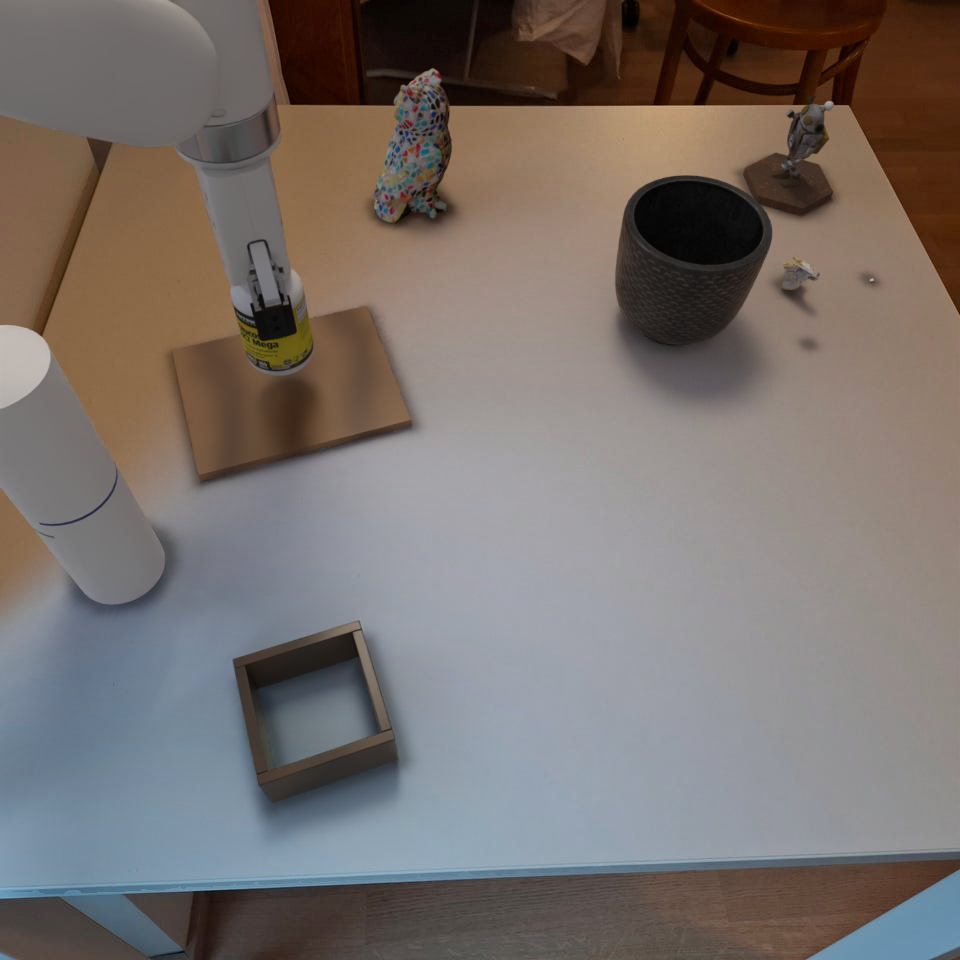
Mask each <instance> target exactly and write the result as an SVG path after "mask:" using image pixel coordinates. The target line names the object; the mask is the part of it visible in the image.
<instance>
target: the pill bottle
mask: <svg viewBox="0 0 960 960" xmlns="http://www.w3.org/2000/svg"><path fill="white" fill-rule="evenodd" d="M288 260H289V271H288V273H287V274H286V275H285V276H284V275H283V273H282V277H283V281H284V285H285V289H286V293H287V295H289V297H290V300H291V305H292V309H293V314H294V319H295V323H296V328H297V332H296V334H294V335H289V336H285V337H281V338H276V339H272V340H268V341H261V340H260V339H259V336H258V332H257V328H256V325H255V321H254V317H253V314H252V310H251V306H250V303H253V301H252V297H251V294H250V290H249V286H248V283H247V281H246V284H244V285H238V286H236V287H235V286H233V285H231V284H230V289H229V296H230V301H231V305H232V308H233V311H234V316H235V318H236V323H237V326H238V330H239V335H240V334H241V337H242V341H243V344H244V348H245V352H246V355H247V357H248V360H249V362H250V363H251V365H252V366H253V367H254V368H255V369H257V370H258V371H260V372H262V373H265V374H268V375H274V376H283V375H289V374H292V373H295V372H297V371H299V370H300V369H302V368H303V367H304V366H305V365H306V364H307V363H308V362H309V361H310V359H311V357H312V355H313V352H314V343H313V337H312V331H311V326H310V321H309V319H310V316H309V312H308V305H307V300H306V295H305V289H304V284H303V281H302V279H301V277H300V275H299V274H298V273H297V271H296V270H295V269H293V268H292V267H291V262H290V258H289V257H288ZM270 263H271V266H273V265H274V263H273V260H270ZM254 269H255V267H254V264H251V266H250V270H254ZM274 278H275V277H274ZM275 281H276V279H275ZM254 283H255V287H256V290H257V294H258V295H259V294H261V289H260V285H259V282H258V281H254ZM276 285H277V283H276ZM277 289H278V287H277ZM258 298H259V297H258Z"/></svg>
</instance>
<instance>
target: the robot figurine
mask: <svg viewBox="0 0 960 960" xmlns="http://www.w3.org/2000/svg"><path fill="white" fill-rule="evenodd" d="M816 97H817V96H816V95H808V96H805V100H807V103H808V104H806V105H805V106H804V107H802V108H801V110H800V111H798V112H795V111H794V110H793V109H792V108H790V109H789V110H788V111H787V112H786V113H785V116H786V117H787V118H788V119H792V120H791V122H790V126H789V130H788V132H787V133H788V134H787V139H786V145H787V148H788V155H786V154H783V153H779V152H773V153H771V154H770V155H767V156H766V157H763V158H762V159H760V160H757V161H755V162H753V163H751V164H749V165H747V166H745V167H744V170H743V174H742V175H743V177H744V179H745V181H746V184H747V186H748V188H749V191H750V193H751V196H752V197H753V198H754V199H755V200H756V201H757V202H758V203H759V204H760V205H764V206H767V207H770V208H771V207H772V208H774V209H777V210H781V211H785V212H788V213H790V214H791V213H792V214H795V215H798V216H802V215H803V214H804V213H805V214H806V213H807V212H809V211H810V210H813V209H814V208H816V207H818V206H820V205H822V204H823V203H826V202H827V201H829V200H831V198H832V196H833V194H834V191H833V188H832V186H831V185H830V182H829V181H828V179H827V177H826V175H825V173H824V171H823V169H822V167H821V165H820V164H819V163H815V162H812V161H808V160H805V159H808V158H810V157H811V155H817V154H819V152H820V151H821V150H822V149H823V147H824V146H826V144H827V143H828V142H829V140H830V137H829V134H828V131H827V128H826V126H825V112H826V111H827V112H830V111H832V110H833V109H834V105H835V104H834V102H833V101H832V100H828V101H826V102H825V103H824V104H823V106H821V105H820V104H818V103H814V101H815V99H816Z"/></svg>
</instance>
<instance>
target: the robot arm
mask: <svg viewBox="0 0 960 960" xmlns="http://www.w3.org/2000/svg"><path fill="white" fill-rule="evenodd" d="M277 105H278V104H277V100H276V95H275V90H274V85H273V79H272V73H271V68H270V63H269V58H268V52H267V46H266V41H265V36H264V30H263V25H262V19H261V13H260V9H259V3H258V0H0V116H3V117H6V118H9V119H12V120H16V121H19V122H21V123H25V124H30V125H33V126H37V127H40V128H44V129H48V130H52V131H56V132H59V133H64V134H68V135H72V136H78V137H82V138H88V139H94V140H99V141H104V142H108V143H113V144H118V145H123V146H128V147H135V148H140V149H159V148H168V147H171V146H173V147H174V150H175V152H176V153H177V155H178V156H179V157H180V158H181V159H182V160H183V161H184V162H187V163H189V164H190V165H192V166H194V169H195V174H196V176H197V181H198V185H199V189H200V192H201V196H202V199H203V203H204V206H205V210H206V214H207V217H208V219H209V223H210V226H211V230H212V234H213V237H214V241H215V243H216V247H217V250H218V253H219V257H220V260H221V263H222V264H221V265H222V267H223V269H224V273H225V276H226V277H225V278H226V280H227V282H228V283H229V284H230V286H231V285H233V286H235V287H236V286H238V285H244V284H246V281H247V283H248V286H249V290H250V294H251V297H252V301H253V303H250V306H251V310H252V314H253V317H254V321H255V325H256V328H257V332H258V336H259V339H260V340H261V341H268V340H272V339H276V338H281V337H285V336H289V335H294V334H296V332H297V328H296V323H295V319H294V314H293V309H292V305H291V300H290V297H289V295H287V293H286V289H285V285H284V281H283V277H282V273H283V275H284V276H285V275H286V274H287V273H288V271H289V262H290V259H289V260H288V258H289V255H288V254H289V253H288V248H287V240H286V234H285V229H284V223H283V217H282V211H281V206H280V201H279V196H278V191H277V185H276V180H275V175H274V170H273V165H272V161H271V156H270V155H272V154H273V153H274V152H275V151H276V150H277V148H278V147H279V145H280V143H281V141H282V137H283V133H282V126H281V121H280V117H279V115H280V114H279V111H278V106H277ZM270 260H273V263H274V265H273V266H271V263H270ZM251 264H254V267H255V269H254V270H250V266H251ZM274 277H275V278H274ZM275 279H276V281H275ZM254 281H258V282H259V285H260V289H261V294H259V295H258V294H257V290H256V287H255V283H254ZM276 283H277V285H276ZM277 287H278V289H277ZM258 297H259V298H258Z"/></svg>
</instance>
